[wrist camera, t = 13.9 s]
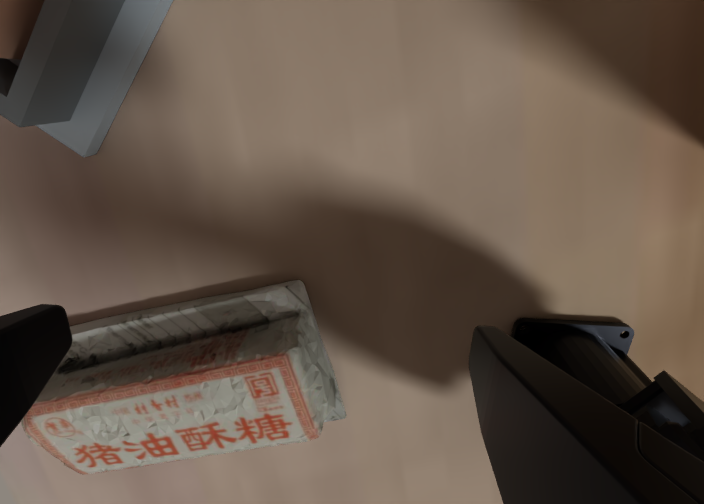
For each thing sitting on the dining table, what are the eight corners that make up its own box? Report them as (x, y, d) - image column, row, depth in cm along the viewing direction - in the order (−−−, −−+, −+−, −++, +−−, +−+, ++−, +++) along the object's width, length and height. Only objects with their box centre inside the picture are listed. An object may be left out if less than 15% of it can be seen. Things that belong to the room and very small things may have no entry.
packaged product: (289, 314, 19) (344, 468, 22) (304, 270, 23) (348, 404, 27) (-44, 384, 21) (54, 513, 25) (28, 331, 26) (102, 447, 29)
